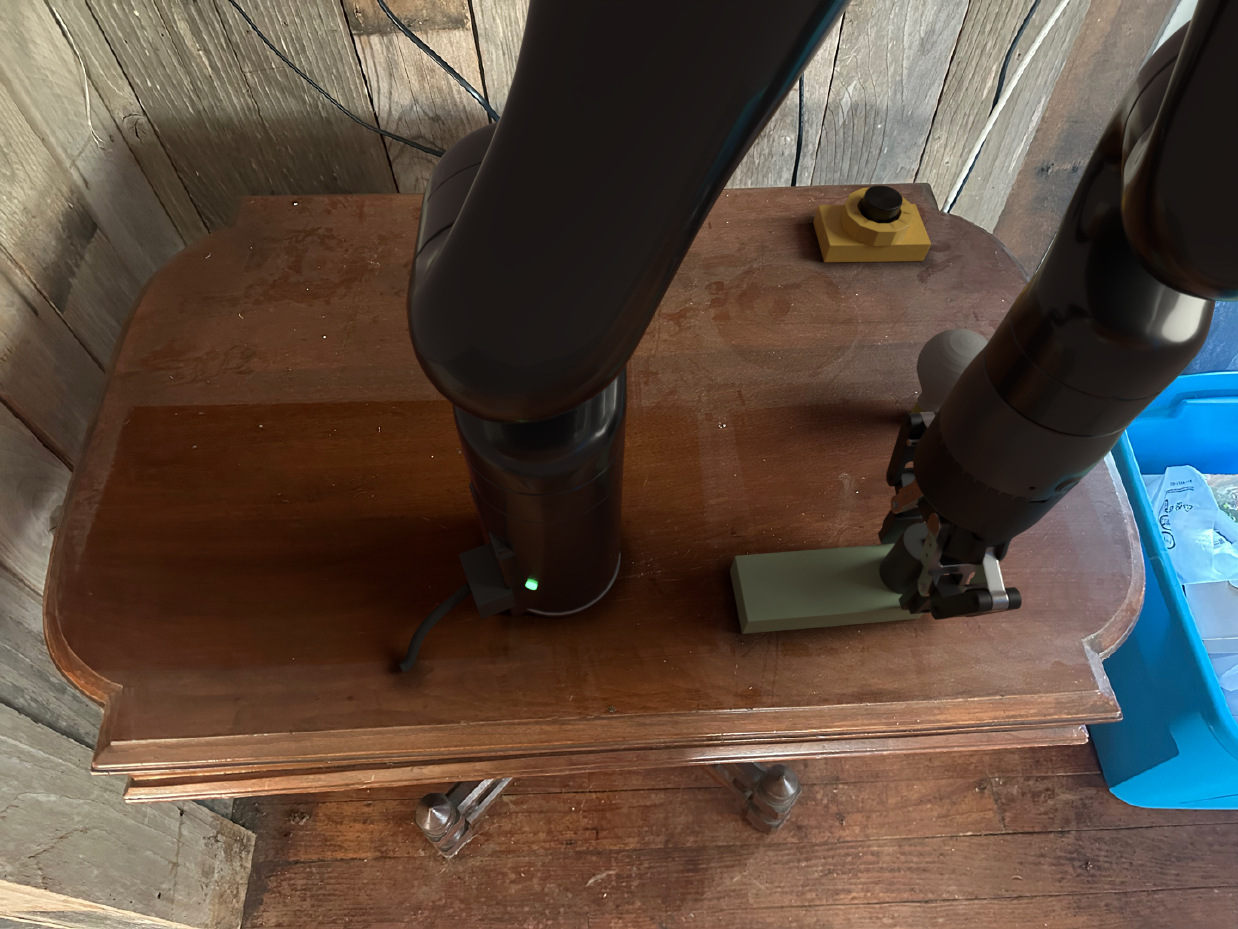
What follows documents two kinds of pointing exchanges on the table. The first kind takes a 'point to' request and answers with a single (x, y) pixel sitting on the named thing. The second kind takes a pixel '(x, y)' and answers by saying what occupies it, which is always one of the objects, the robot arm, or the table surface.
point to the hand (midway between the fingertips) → (903, 571)
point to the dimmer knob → (904, 559)
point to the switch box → (869, 233)
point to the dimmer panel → (814, 589)
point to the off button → (881, 204)
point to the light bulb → (944, 365)
